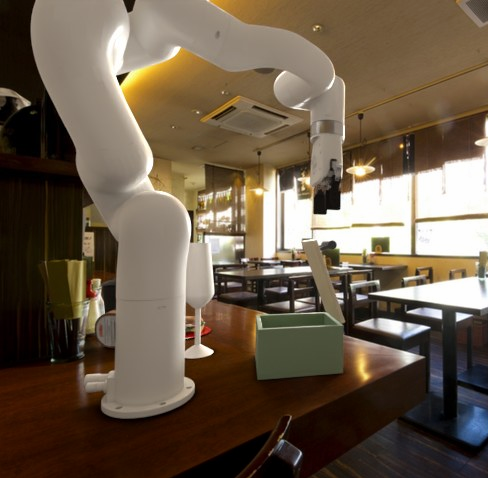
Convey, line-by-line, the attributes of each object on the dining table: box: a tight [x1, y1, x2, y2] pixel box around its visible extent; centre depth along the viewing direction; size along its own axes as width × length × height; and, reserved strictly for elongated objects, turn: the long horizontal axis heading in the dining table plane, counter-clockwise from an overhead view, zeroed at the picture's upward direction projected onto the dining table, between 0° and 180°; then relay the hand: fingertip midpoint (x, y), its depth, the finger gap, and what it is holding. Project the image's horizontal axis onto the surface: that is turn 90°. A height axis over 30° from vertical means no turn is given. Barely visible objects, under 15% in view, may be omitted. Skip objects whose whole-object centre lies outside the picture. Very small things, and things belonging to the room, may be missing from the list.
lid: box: [300, 238, 346, 325], centre depth 67 cm, size 16×13×5 cm
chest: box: [254, 311, 344, 381], centre depth 65 cm, size 16×13×9 cm
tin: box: [94, 310, 116, 349], centre depth 75 cm, size 15×3×8 cm, turn 84°
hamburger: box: [185, 315, 212, 339], centre depth 88 cm, size 14×14×6 cm
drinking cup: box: [100, 277, 116, 314], centre depth 85 cm, size 8×8×20 cm
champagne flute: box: [185, 242, 215, 359], centre depth 72 cm, size 7×7×24 cm
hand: (325, 212), depth 72 cm, fingers open, 9 cm apart
